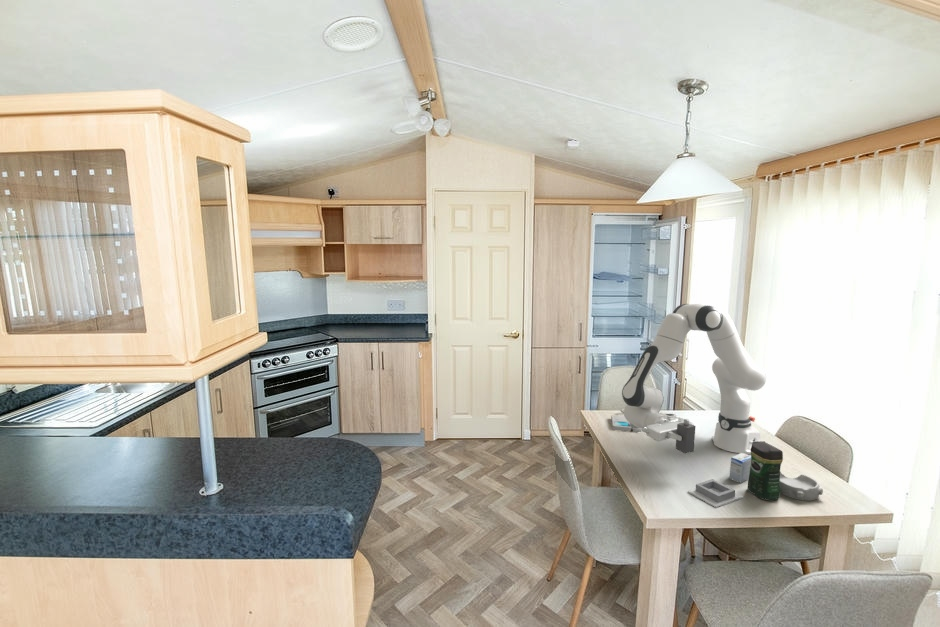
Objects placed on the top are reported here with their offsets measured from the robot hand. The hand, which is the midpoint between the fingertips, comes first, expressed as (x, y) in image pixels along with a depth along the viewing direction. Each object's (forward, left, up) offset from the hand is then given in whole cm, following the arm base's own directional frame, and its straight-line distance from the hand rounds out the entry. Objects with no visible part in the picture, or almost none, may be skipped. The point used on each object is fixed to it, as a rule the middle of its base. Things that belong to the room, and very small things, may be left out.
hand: (687, 437), depth 170 cm
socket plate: (0, +12, -17) cm, 21 cm away
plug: (0, -1, -5) cm, 6 cm away
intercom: (-23, -54, -17) cm, 61 cm away
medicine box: (-20, +8, -17) cm, 28 cm away
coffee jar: (-16, +20, -17) cm, 30 cm away
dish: (-28, +23, -17) cm, 40 cm away
